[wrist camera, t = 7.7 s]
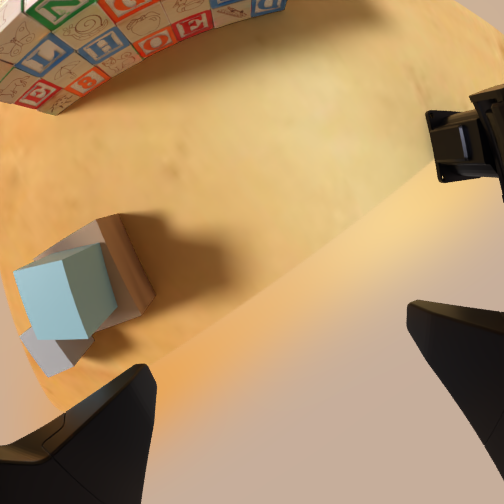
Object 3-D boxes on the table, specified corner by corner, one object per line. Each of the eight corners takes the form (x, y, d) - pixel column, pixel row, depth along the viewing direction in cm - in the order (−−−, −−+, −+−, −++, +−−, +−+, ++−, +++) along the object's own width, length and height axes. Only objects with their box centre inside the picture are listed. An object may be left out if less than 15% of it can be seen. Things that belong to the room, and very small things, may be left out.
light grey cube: (68, 299, 21) (41, 320, 16) (95, 339, 22) (73, 366, 17) (44, 316, 21) (19, 336, 17) (69, 353, 22) (48, 377, 18)
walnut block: (119, 213, 20) (95, 219, 16) (156, 293, 21) (141, 315, 17) (60, 247, 20) (33, 258, 16) (94, 318, 21) (74, 339, 18)
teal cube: (99, 242, 16) (61, 260, 12) (117, 306, 17) (88, 338, 13) (52, 253, 16) (13, 271, 12) (69, 311, 17) (37, 339, 13)
